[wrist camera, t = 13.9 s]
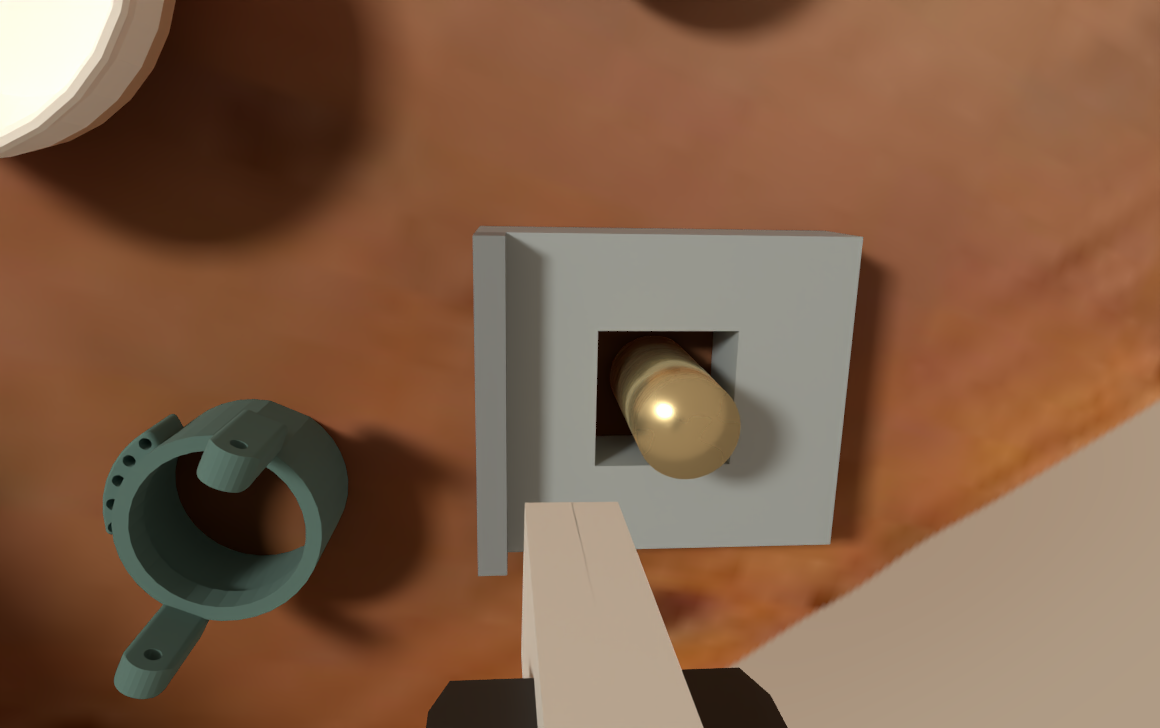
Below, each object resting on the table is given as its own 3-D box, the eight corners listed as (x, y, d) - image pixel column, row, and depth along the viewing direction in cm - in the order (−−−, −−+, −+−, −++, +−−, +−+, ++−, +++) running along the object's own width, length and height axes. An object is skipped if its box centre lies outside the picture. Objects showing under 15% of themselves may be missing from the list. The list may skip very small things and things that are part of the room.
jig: (483, 513, 37) (478, 575, 31) (480, 225, 33) (472, 235, 28) (798, 507, 38) (849, 565, 32) (824, 230, 35) (886, 240, 29)
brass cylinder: (609, 416, 36) (635, 481, 28) (610, 335, 35) (637, 379, 27) (690, 414, 36) (737, 477, 29) (693, 334, 35) (743, 377, 28)
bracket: (313, 370, 34) (242, 433, 26) (373, 545, 37) (328, 657, 28) (123, 419, 34) (-12, 498, 26) (196, 591, 36) (94, 717, 28)
